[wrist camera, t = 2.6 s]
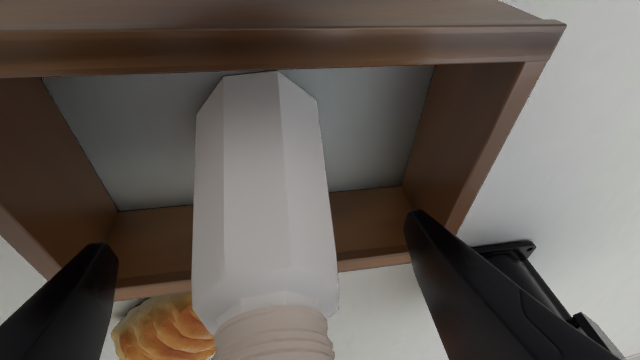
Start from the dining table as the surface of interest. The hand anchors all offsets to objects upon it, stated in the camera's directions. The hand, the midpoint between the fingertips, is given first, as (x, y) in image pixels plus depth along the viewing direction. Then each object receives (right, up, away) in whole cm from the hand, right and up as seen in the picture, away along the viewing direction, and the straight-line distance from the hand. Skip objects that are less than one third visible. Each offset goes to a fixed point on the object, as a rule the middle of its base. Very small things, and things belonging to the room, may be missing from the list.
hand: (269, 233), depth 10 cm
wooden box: (-1, +4, +4) cm, 6 cm away
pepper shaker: (-1, +4, +4) cm, 6 cm away
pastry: (-8, -8, +13) cm, 18 cm away
